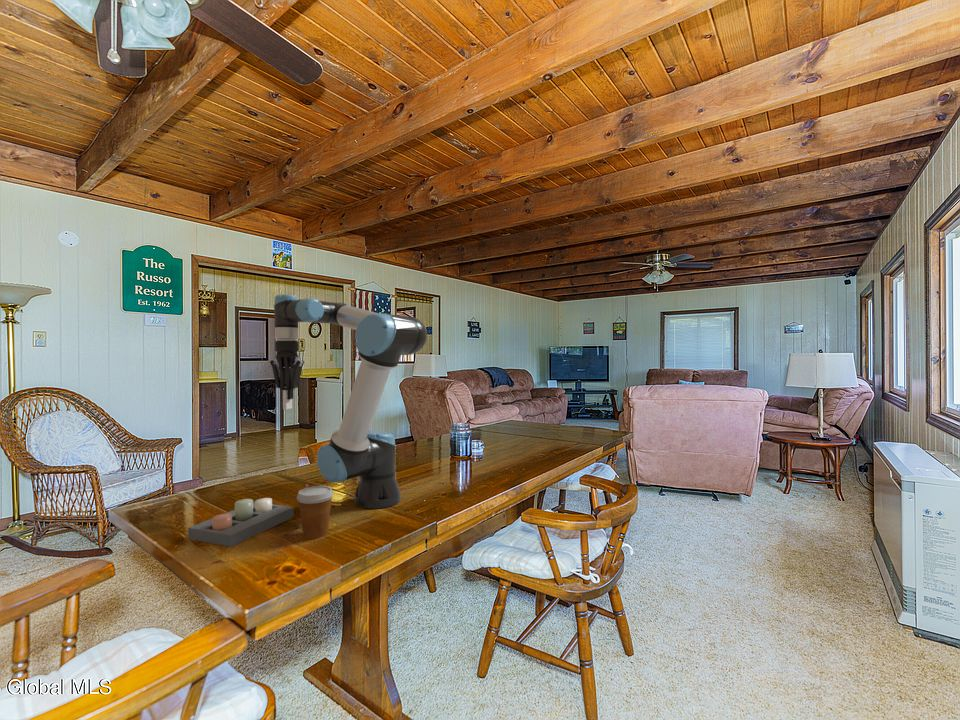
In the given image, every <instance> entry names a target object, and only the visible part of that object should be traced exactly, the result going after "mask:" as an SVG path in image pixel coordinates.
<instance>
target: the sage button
mask: <svg viewBox="0 0 960 720" xmlns="http://www.w3.org/2000/svg"><path fill="white" fill-rule="evenodd" d="M253 502H254V500H253V499H252V498H243V499H239V500H236V501H235V502H234V510H235V520H237V521H243V522H244V521H246V520H248V519H251V518H253Z"/></svg>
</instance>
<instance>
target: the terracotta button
mask: <svg viewBox="0 0 960 720" xmlns="http://www.w3.org/2000/svg"><path fill="white" fill-rule="evenodd" d="M211 519H212V528H213V530H217V531H222V530H225V529H227V528H229V527H232V514H225V513H220V514H216V515H214V516H212V518H211Z"/></svg>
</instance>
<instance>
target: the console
mask: <svg viewBox="0 0 960 720" xmlns="http://www.w3.org/2000/svg"><path fill="white" fill-rule="evenodd" d="M224 514H232V527H229V528H227V529H225V530H222V531H217V530H213V528H212V518H210V519H207V520H204V521H202V522H200V523H199V522H198V523H197V524H194V525H192V526H190V527H188V528H187V529H188V530H187V531H188V540H192V539H193V540H192V541H198V542H203V543H209V544H214V545H218V546H224V547H228V548H231V547H234V546H236V545H237V544H240V543H243V542H244V541H246V540H249V539H250V538H252V537H254V536H257V535H258V534H261V533H264V532H265V531H267V530H269V529H271V528H273V527H276V526H277V525H279V524H282V523H283V522H287V521H289V520H290V519H293V518H294V507H293V506H288V505H280V504H276V503H275V504H274V503H272V510H269V511H267V512H265V513H260V512H255V501H253V518H251V519H248V520H246V521H244V522H243V521H237V520H235V509H234V510H230V511H228V512H225V513H224Z"/></svg>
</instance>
